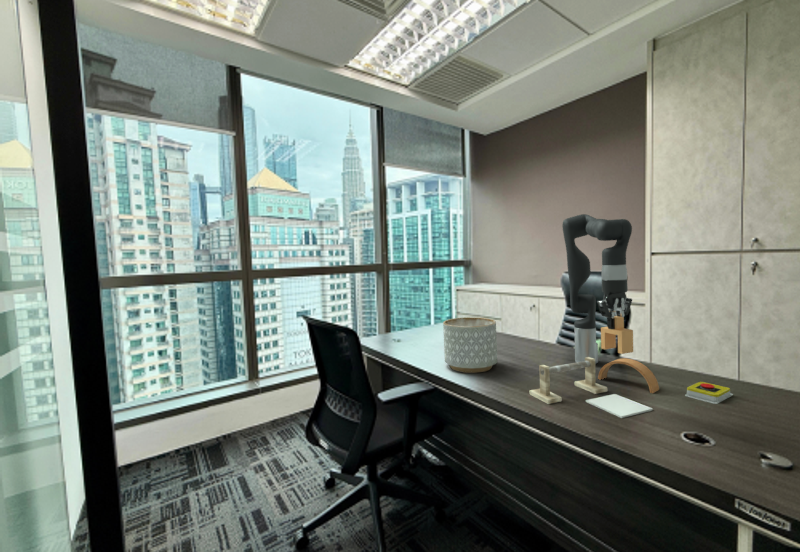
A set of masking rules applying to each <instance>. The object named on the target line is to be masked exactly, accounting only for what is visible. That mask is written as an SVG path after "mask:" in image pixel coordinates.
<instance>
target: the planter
mask: <svg viewBox="0 0 800 552" xmlns="http://www.w3.org/2000/svg"><path fill="white" fill-rule="evenodd" d="M442 325H443V326H442V329H443V331H442V332H443V347H444V348H443V349H444V352H443V353H444V362H445V364H447V365H448V366H449V367H450V368H451V369H452V370H453V371H456V372H461V373H468V374H470V373H471V374H472V373H473V374H475V373H477V374H478V373H484V372H488V371H490V370H491V369H492V367H493V366H495V365H496V364H497V363H498V344H497V343H498V341H497V322H496V320H495V319H492V318H487V317H478V316H477V317H473V316H472V317H470V316H469V317H455V318H449V319H446V320H444V321H443V322H442Z"/></svg>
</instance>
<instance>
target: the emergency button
mask: <svg viewBox="0 0 800 552" xmlns="http://www.w3.org/2000/svg"><path fill="white" fill-rule="evenodd" d="M684 396H685V397H688V398H691V399H695V400H698V401H702V402H705V403H709V404H713V405H717V404H719V403H722V402H723V401H725V400H726V399H728V398H730V397H732V396H734V394H733V393H731V388H730V387H727V386H722V385H717V384H713V383H709V382H705V381H699V382H695V383H693V384H692V385H690V386H688V387H686V394H684Z"/></svg>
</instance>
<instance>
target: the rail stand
mask: <svg viewBox="0 0 800 552" xmlns="http://www.w3.org/2000/svg"><path fill="white" fill-rule="evenodd" d="M538 367H539V368H538V369H539V388H536V389H531V390H530V389H529V395H530V396H532V397H534V398H536V399H538V400H539V401H542V402H543V403H546V404H547V405H551V404H555V403H559V402H562V398H563V397H562V396H560V395H558V394H556V393H553V392H552V391H551V381H550V378H551V376H550V375H551V374H556V373H557V374H558V373H563V372H567V371H572V370H579V369H584V372H585V373H584V378H585V379H581V380H575V381H574V386H575V387H577V388H579V389H583V390H585V391H587V392H590V393H591V394H594V395H595V394H596V395H597V394H602V393H606V392H608V387H607V386H605V385H602V384H599V383H596V381H597V380H596V379H597V378H596V364H595V359H594V358H590V357H586V358H585V361H582V362H571V363H565V364H559V365H553V366H549V365H545V364H541V365H540V364H539V365H538Z"/></svg>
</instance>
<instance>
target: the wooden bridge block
mask: <svg viewBox="0 0 800 552" xmlns="http://www.w3.org/2000/svg"><path fill="white" fill-rule="evenodd" d="M624 317H625V316H624ZM624 317H619V316H616V315H615V317H614V319H615V329H608V327H607V326H604V327H600V341H601V342H600V343H601V344H600V345H601V346H600V347H601V349H602V350H612V349H616V348H617V353H618V354H620V355H623V354H625V355H626V354H630V353H634V330H633V329H630V328H625V322H624V321H625V320H624V319H625V318H624ZM616 337H617V338H616Z"/></svg>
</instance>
